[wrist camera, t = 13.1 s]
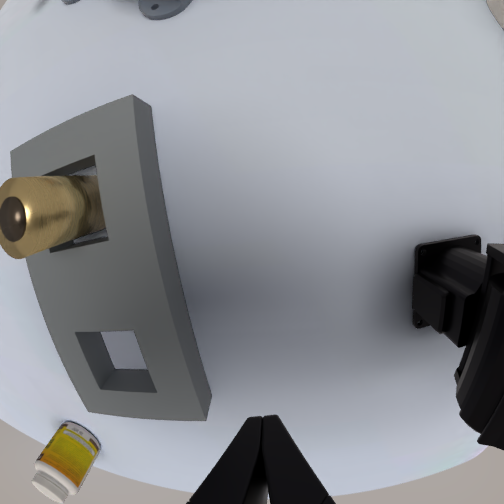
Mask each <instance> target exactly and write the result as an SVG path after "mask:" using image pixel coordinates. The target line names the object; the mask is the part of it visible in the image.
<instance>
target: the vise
mask: <svg viewBox="0 0 504 504" xmlns="http://www.w3.org/2000/svg"><path fill="white" fill-rule="evenodd" d="M62 1H63V2H64V3H65V4H73V3H76V2H78V1H80V0H62ZM191 2H192V0H139V9H140V11H141V12H142V13H143V14H144V16H146V17H147V18H149V19H154V20H161V19H166V18H170V17H172V16H175V15H177V14H179V13H180V12H182V11H183V10H184V9H185V8H186V7H187V6H188V5H189V4H190V3H191ZM155 9H156V10H155Z"/></svg>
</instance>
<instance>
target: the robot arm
mask: <svg viewBox="0 0 504 504" xmlns="http://www.w3.org/2000/svg"><path fill="white" fill-rule="evenodd" d="M475 240H476V243H475ZM422 249H424V252H423V253H422V254H421V250H422ZM486 253H487V256H485V255H483V254H481V238H480V236H478V235H470V236H464V237H458V238H453V239H447V240H441V241H435V242H430V243H424V244H420V245H418V246H417V247H416V250H415V275H414V277H413V300H412V308H413V325H414V326H415V327H416V328H417V329H418V328H423V327H426V326H430V325H431V326H432V327H433V328H434V329H435V330H436V331H437V332H438V333H439V334H442V333H444V334H445V335H446V336H447V337H448V338H449V339H450V340H451V341H452V342H453V343H454V344H455V345H456V346H457V347H458V348H460V347H463V346H466V348H465V351H464V354H463V357H462V359H461V362H460V365H459V367H458V368H457V369H456V372H455V374H454V377H455V380H456V383H457V388H456V398H457V401H458V404H459V406H460V409H461V410H460V413H459V415H460V417H461V418H462V419H463V420H464V421H465V423H466V424H467V425H468V426H469V427H471V428H472V429H473V430H475V431H476V432H478V433H480V434H481V435H480V437H479V438H478V440H477V442H478V443H479V444H483V445H489V446H494V447H496V448H499V449H502V450H504V244H489V243H488V244H487V250H486ZM419 320H420V322H419V323H418V321H419ZM268 493H269V498H270V504H336V503H335V502H334V500H333V499H332V497H331V496H329V494H328V492H327V491H326V489H325V488H324V486H323V485H322V483H321V482H320V480H319V479H318V477H317V476H316V474H315V473H314V471H313V470H312V468H311V467H310V465H309V464H308V462H307V461H306V459H305V458H304V456H303V455H302V453H301V452H300V450H299V448H298V447H297V445H296V444H295V442H294V441H293V439H292V437H291V436H290V434H289V433H288V431H287V429H286V428H285V426H284V425H283V423H282V421H281V420H280V418H279V416H278V415H267V416H264V417H261V416H256V417H249V418H247V420H246V421H245V423H244V424H243V426H242V427H241V429H240V430H239V432H238V433H237V435H236V436H235V438H234V439H233V441H232V442H231V443H230V445H229V446H228V448H227V449H226V451H225V452H224V454H223V455H222V456H221V458H220V459H219V461H218V462H217V463H216V465H215V466H214V468H213V469H212V470H211V472H210V473H209V474H208V476H207V477H206V479H205V480H204V481H203V483H202V484H201V485H200V486H199V488H198V489H197V490H196V492H195V493H194V494H193V496H192V497H191V498H190V500H189V501H190V502H187V503H186V504H267V497H268Z"/></svg>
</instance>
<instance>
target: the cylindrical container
mask: <svg viewBox="0 0 504 504" xmlns="http://www.w3.org/2000/svg"><path fill="white" fill-rule="evenodd" d="M486 1H487V4H488V6H489V8H490V10H491V12H492V14H493V15H494V17H495V18H496V20H497V21H498V23H499V24H500V25H501V27H502V28H503V29H504V0H486Z"/></svg>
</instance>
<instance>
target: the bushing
mask: <svg viewBox="0 0 504 504" xmlns="http://www.w3.org/2000/svg"><path fill="white" fill-rule="evenodd" d="M105 227H106V224H105V219H104V214H103V209H102V203H101V197H100V191H99V184H98V177H97V176H96V175H73V176H35V177H16V178H10V179H8V180H7V181H5V182H4V183H3V185H2V186H1V187H0V245H1V246H2V248H3V249H4V251H5V252H6V253H7V254H8V255H9V256H11V257H13V258H15V259H22V258H25V257H28V256H30V255H33V254H35V253H38V252H41V251H43V250H46V249H49V248H51V247H54V246H57V245H59V244H62V243H65V242H68V241H71V240H73V239H76V238H79V237H82V236H85V235H88V234H91V233H94V232H97V231H100V230H102V229H104V228H105Z"/></svg>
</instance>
